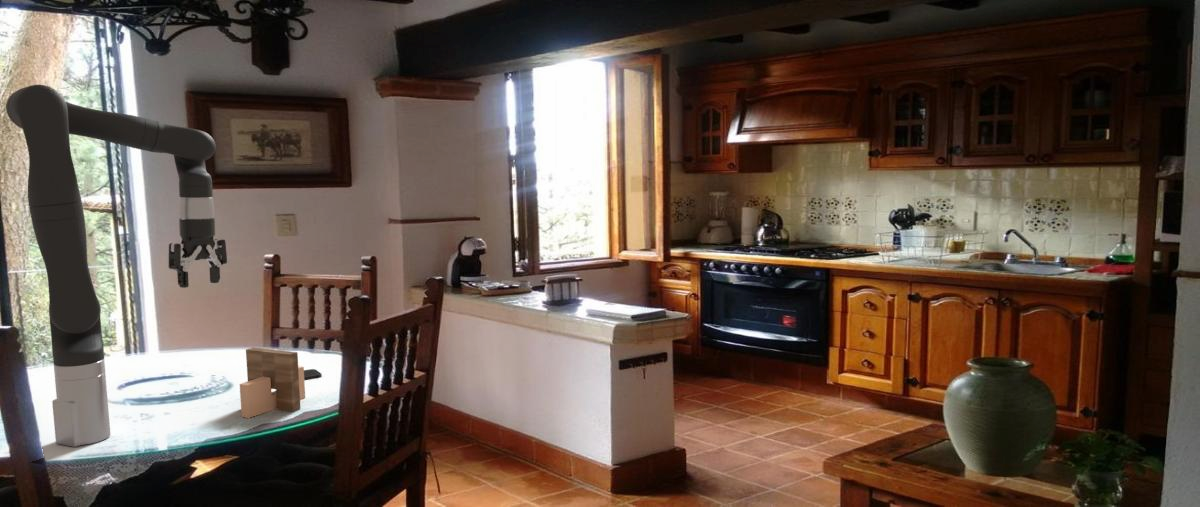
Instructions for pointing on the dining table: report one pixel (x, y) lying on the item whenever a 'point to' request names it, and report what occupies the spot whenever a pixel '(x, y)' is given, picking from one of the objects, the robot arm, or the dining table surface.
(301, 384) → the horizontal wooden crosspiece
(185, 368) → the dining table surface
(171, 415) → the dining table surface
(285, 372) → the upright wooden board
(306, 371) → the phone
